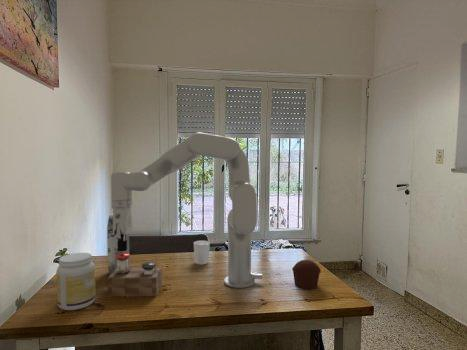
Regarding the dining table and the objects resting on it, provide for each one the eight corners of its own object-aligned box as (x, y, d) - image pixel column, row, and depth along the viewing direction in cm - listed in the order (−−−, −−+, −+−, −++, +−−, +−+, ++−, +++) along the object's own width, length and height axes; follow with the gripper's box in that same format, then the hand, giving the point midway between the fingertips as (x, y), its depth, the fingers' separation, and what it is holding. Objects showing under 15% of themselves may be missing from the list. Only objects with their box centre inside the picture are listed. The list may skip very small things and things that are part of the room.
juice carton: (129, 268, 151) (128, 211, 149) (129, 276, 141) (128, 215, 139) (109, 270, 148) (107, 212, 146) (107, 279, 138) (106, 216, 136)
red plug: (131, 276, 129) (131, 252, 129) (127, 282, 124) (127, 256, 123) (118, 277, 129) (117, 252, 128) (114, 282, 124) (113, 256, 123)
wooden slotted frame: (117, 284, 133) (117, 267, 132) (161, 283, 133) (161, 266, 133) (107, 296, 121) (107, 278, 120) (156, 296, 121) (156, 277, 121)
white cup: (209, 265, 156) (209, 244, 155) (192, 265, 156) (192, 244, 156) (210, 260, 164) (210, 240, 163) (194, 259, 164) (194, 240, 163)
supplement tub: (102, 297, 120) (101, 253, 119) (80, 313, 108) (78, 263, 107) (74, 294, 123) (73, 250, 121) (49, 309, 111) (47, 260, 110)
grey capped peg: (156, 286, 130) (156, 261, 129) (154, 291, 125) (154, 265, 124) (143, 286, 130) (143, 261, 129) (140, 291, 124) (140, 266, 124)
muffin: (311, 293, 124) (311, 268, 123) (286, 286, 131) (286, 261, 131) (325, 284, 133) (326, 260, 132) (301, 277, 140) (302, 255, 140)
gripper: (126, 206, 117) (126, 256, 119) (136, 201, 132) (137, 245, 133) (105, 206, 117) (105, 256, 118) (117, 201, 132) (118, 245, 133)
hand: (122, 250), depth 126 cm, fingers closed
